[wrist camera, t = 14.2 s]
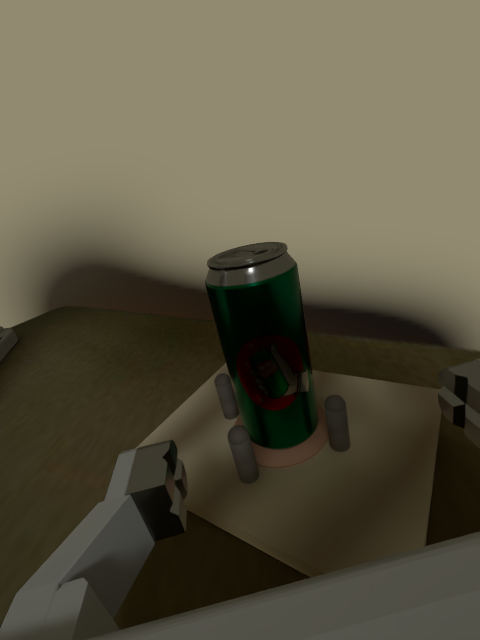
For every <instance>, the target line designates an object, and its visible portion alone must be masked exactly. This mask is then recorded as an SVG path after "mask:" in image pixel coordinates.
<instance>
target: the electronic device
mask: <svg viewBox="0 0 480 640" xmlns="http://www.w3.org/2000/svg"><path fill="white" fill-rule="evenodd" d="M17 341H18V338H17V336H16V334H15V332H14V331H13V329H11V328H5V329H3V327H0V362H1V361H2V360H3V358H4V357H5V356H6V355H7V354H8V352H9V351H10V350H11V349H12V347H13V346H14V345H15V344H16V343H17Z"/></svg>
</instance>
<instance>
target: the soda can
mask: <svg viewBox="0 0 480 640" xmlns="http://www.w3.org/2000/svg"><path fill="white" fill-rule="evenodd" d="M207 265H208V267H209V272H208V275H207V278H206V281H205V285H206V289H207V293H208V296H209V300H210V304H211V308H212V312H213V315H214V319H215V323H216V327H217V331H218V334H219V338H220V342H221V346H222V349H223V353H224V357H225V361H226V365H227V368H228V372H229V376H230V380H231V383H232V387H233V391H234V395H235V399H236V402H237V406H238V410H239V414H240V417H241V421H242V425H243V427H245V428H246V429H247V431H248V433H249V436H250V440H251V441H252V442H253V443H255V444H257V445H259V446H261V447H263V448H267V449H271V450H287V449H291V448H294V447H296V446H298V445H300V444H302V443H303V442H305V441H306V440H307V439H308V438H309V437H310V436H311V435H312V434H313V433H314V432H315V430H316V428H317V426H318V422H319V415H318V408H317V401H316V394H315V387H314V380H313V373H312V366H311V359H310V352H309V345H308V338H307V331H306V324H305V317H304V310H303V303H302V296H301V289H300V283H299V275H298V268H297V263H296V262H295V261H294V260H293V258H292V257H291V256H290V255H289V254H288V253H287V245H286V244H285V243H279V242H265V243H257V244H251V245H246V246H242V247H237V248H234V249H230V250H227V251H225V252H222V253H219V254H217V255H215V256H213V257H212V258H210V259H209V260H208V261H207Z"/></svg>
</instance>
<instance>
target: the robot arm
mask: <svg viewBox="0 0 480 640" xmlns="http://www.w3.org/2000/svg"><path fill="white" fill-rule="evenodd" d="M438 381H439V382H440V383H441V384H442V385H443V387H442V388H441V390H440V391H439V393H438V403H439V406H440V408H441V411H442V413H443V414H444V416H445V417H446V418H447V419H448V420H449V421H450V422H451V423H452V424H454V425H456V426H459V427H462V428H464V434H465V436H466V437H467V438H468V439H470V440H471V441H472V442H473V443H474V444H475V445H476V446H477V447H478V448H480V359H476V360H474V361H471V362H467V363H463V364H459V365H456V366H452V367H448V368H445V369H441V371H440V373H439V378H438ZM177 453H178V449H177V447H176V444H175V442H174V441H173V440H168V441H163V442H159V443H155V444H151V445H147V446H142V447H139V448H135V449H131V450H127V451H123V452H121V453H120V454H119V456H118V459H117V462H116V465H115V468H114V472H113V475H112V478H111V481H110V484H109V487H108V491H107V494H106V497H105V500H104V501H103V502H100V503H98V504H97V505H96V506H95V507H94V509H93V510H92V511H91V512H90V513H89V514H88V515H87V516H86V517H85V519H84V520H83V521H82V522H81V523H80V524H79V525H78V526H77V527H76V528H75V530H74V531H73V532H72V533H71V534H70V535H69V536H68V537H67V538H66V539H65V541H64V542H63V543H62V544H61V545H60V546H59V547H58V548H57V549H56V551H55V552H54V553H53V554H52V555H51V556H50V557H49V558H48V559H47V560H46V562H45V563H44V564H43V565H42V566H41V567H40V568H39V569H38V570H37V571H36V573H35V574H34V575H33V576H32V577H31V578H30V579H29V580H28V581H27V583H26V584H25V585H24V586H23V587H22V588H21V589H20V590H19V591H18V592H17V594H16V595H15V598H14V600H13V602H12V604H11V606H10V609H9V611H8V613H7V615H6V617H5V619H4V622H3V624H2V626H1V628H0V640H480V531H479V532H475V533H472V534H468V535H465V536H461V537H457V538H454V539H450V540H446V541H443V542H439V543H436V544H432V545H428V546H425V547H421V548H417V549H414V550H410V551H406V552H403V553H399V554H395V555H392V556H388V557H384V558H381V559H377V560H373V561H370V562H366V563H363V564H359V565H355V566H352V567H348V568H344V569H341V570H337V571H333V572H330V573H326V574H322V575H319V576H315V577H311V578H308V579H304V580H300V581H297V582H293V583H290V584H286V585H282V586H279V587H275V588H271V589H268V590H264V591H260V592H257V593H253V594H249V595H246V596H242V597H238V598H235V599H231V600H228V601H224V602H220V603H217V604H213V605H209V606H206V607H202V608H198V609H195V610H191V611H187V612H184V613H180V614H177V615H173V616H169V617H166V618H162V619H158V620H155V621H151V622H147V623H144V624H140V625H136V626H133V627H129V628H126V629H122V630H120V629H119V627H118V626H117V624H116V623H115V622H114V618H115V616H116V614H117V612H118V610H119V609H120V607H121V605H122V603H123V601H124V600H125V598H126V596H127V594H128V592H129V590H130V589H131V587H132V585H133V583H134V581H135V579H136V578H137V576H138V574H139V572H140V570H141V569H142V567H143V565H144V563H145V561H146V559H147V558H148V556H149V554H150V552H151V550H152V548H153V547H154V545H155V541H159V540H162V539H165V538H168V537H172V536H175V535H178V534H182V533H185V532H186V518H187V508H186V506H185V503H184V499H185V498H186V496H187V495H188V483H187V475H186V471H185V467H184V464H183V461H182V460H180V459H178V458H177Z"/></svg>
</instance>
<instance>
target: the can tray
mask: <svg viewBox="0 0 480 640" xmlns="http://www.w3.org/2000/svg"><path fill="white" fill-rule="evenodd" d="M312 373H313V380H314V387H315V394H316V401H317V408H318V415H319V422H318V426H317V428H316V430H315V432H314V433H313V434H312V435H311V436H310V437H309V438H308V439H307V440H306V441H305V442H303V443H302V444H300V445H298V446H296V447H294V448H291V449H287V450H271V449H267V448H263V447H261V446H259V445H257V444H255V443H253V442H252V441H251V440H250V436H249V433H248V431H247V429H246V428H245V427H243V425H242V421H241V417H240V414H239V410H238V406H237V402H236V399H235V395H234V391H233V387H232V383H231V380H230V376H229V372H228V368H227V365H226V363H225V364H224V365H223V366H222V367H221V368H220V369H219V370H218V371H217V372H216V373H215V374H214V375H213V376H212V377H211V378H209V379H208V380H207V381H206V382H205V383H204V384H203V385H202V386H201V387H200V388H199V389H198V390H197V391H196V392H195V393H194V394H193V395H191V396H190V397H189V398H188V399H187V400H186V401H185V402H184V403H183V404H182V405H181V406H180V407H179V408H178V409H177V410H176V411H175V412H174V413H172V414H171V415H170V416H169V417H168V418H167V419H166V420H165V421H164V422H163V423H162V424H161V425H160V426H159V427H158V428H157V429H156V430H154V431H153V432H152V433H151V434H150V435H149V436H148V437H147V438H146V439H145V440H144V441H143V442H142V443H141V444H140V445H139V446H138V447H137V448H139V447H142V446H147V445H151V444H155V443H159V442H163V441H168V440H173V441H174V442H175V444H176V447H177V449H178V453H177V458H178V459H180V460H182V461H183V464H184V467H185V471H186V475H187V483H188V495H187V496H186V498H185V499H184V503H185V506H186V508H187V510H188V511H190V512H192V513H194V514H196V515H198V516H199V517H201V518H203V519H205V520H207V521H208V522H210V523H212V524H214V525H216V526H218V527H219V528H221V529H223V530H225V531H227V532H228V533H230V534H232V535H234V536H236V537H238V538H239V539H241V540H243V541H245V542H247V543H249V544H250V545H252V546H254V547H256V548H258V549H259V550H261V551H263V552H265V553H267V554H269V555H270V556H272V557H274V558H276V559H278V560H280V561H281V562H283V563H285V564H287V565H289V566H290V567H292V568H294V569H296V570H298V571H300V572H301V573H303V574H305V575H307V576H309V577H315V576H319V575H322V574H326V573H330V572H333V571H337V570H341V569H344V568H348V567H352V566H355V565H359V564H363V563H366V562H370V561H373V560H377V559H381V558H384V557H388V556H392V555H395V554H399V553H403V552H406V551H410V550H414V549H417V548H421V547H425V546H426V539H427V530H428V522H429V514H430V506H431V497H432V489H433V481H434V473H435V464H436V456H437V448H438V440H439V431H440V423H441V415H442V411H441V408H440V406H439V403H438V393H439V391H440V389H433V388H427V387H420V386H414V385H407V384H401V383H394V382H387V381H381V380H374V379H368V378H361V377H355V376H348V375H341V374H335V373H328V372H322V371H315V370H312Z"/></svg>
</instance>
